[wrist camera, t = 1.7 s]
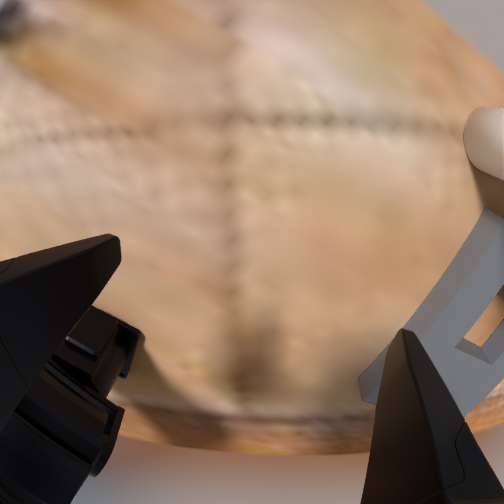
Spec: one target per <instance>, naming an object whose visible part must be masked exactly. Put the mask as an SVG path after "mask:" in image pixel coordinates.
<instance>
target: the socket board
mask: <svg viewBox="0 0 504 504" xmlns="http://www.w3.org/2000/svg"><path fill="white" fill-rule="evenodd" d="M503 284H504V219H503V218H502V217H500V216H499V215H497V214H496V213H494V212H493V211H491V210H489V209H488V208H485V210H484V211H483V213H482V215H481V217H480V218H479V220H478V222H477V223H476V225H475V227H474V228H473V230H472V232H471V233H470V235H469V236H468V238H467V240H466V241H465V243H464V244H463V246H462V247H461V249H460V251H459V252H458V254H457V255H456V257H455V258H454V260H453V261H452V263H451V264H450V266H449V267H448V268H447V270H446V271H445V273H444V274H443V276H442V277H441V278H440V280H439V281H438V283H437V284H436V285H435V287H434V288H433V290H432V291H431V292H430V294H429V295H428V296H427V298H426V299H425V300H424V302H423V303H422V304H421V306H420V307H419V308H418V309H417V311H416V312H415V313H414V315H413V316H412V317H411V318H410V320H409V321H408V322H407V323H406V325H405V326H404V327H403V328H404V329H407V330H411V331H413V332H414V333H415V334H416V336H417V337H418V339H419V341H420V342H421V344H422V345H423V347H424V349H425V350H426V352H427V354H428V355H429V357H430V359H431V360H432V362H433V364H434V365H435V367H436V369H437V370H438V372H439V374H440V376H441V377H442V379H443V381H444V383H445V384H446V386H447V388H448V390H449V391H450V393H451V395H452V397H453V399H454V400H455V402H456V404H457V406H458V408H459V410H460V412H461V413H462V415H463V417H465V416H466V415H467V414H468V413H469V412H470V411H471V410H472V409H473V408H475V407H476V406H477V405H478V404H479V403H480V402H481V401H482V400H483V399H484V398H485V397H486V396H487V395H488V394H489V393H490V392H491V391H492V390H493V389H494V388H495V387H496V386H497V385H498V384H499V383H500V382H501V381H502V380H503V379H504V320H503V321H502V322H501V324H500V325H499V326H498V327H497V329H496V330H495V331H494V332H493V334H492V335H491V336H490V337H489V338H488V340H487V341H486V342H485V343H484V344H483V346H482V347H479V346H477V345H475V344H473V343H472V342H470V341H468V340H466V339H464V338H463V337H464V336H465V334H466V333H467V332H468V331H469V330H470V328H471V327H472V326H473V325H474V323H475V322H476V321H477V320H478V318H479V317H480V316H481V315H482V313H483V312H484V311H485V309H486V308H487V307H488V305H489V304H490V303H491V301H492V300H493V298H494V297H495V296H496V294H497V293H498V292H499V290H500V289H501V287H502V286H503ZM392 341H393V340H392ZM392 341H391V343H392ZM391 343H390V344H391ZM390 344H389V345H388V346H387V347H386V348H385V350H384V351H383V352H382V353H381V354H380V355H379V356H378V357H377V359H376V360H375V361H374V362H373V363H372V364H371V365H370V366H369V367H368V368H367V370H366V371H365V372H364V373H363V374H362V375H361V376H360V377H359V378H358V383H359V387H360V392H361V397H362V401H365V402H368V403H372V404H375V405H376V404H377V398H378V393H379V388H380V383H381V378H382V374H383V368H384V363H385V358H386V353H387V350H388V348H389V346H390Z"/></svg>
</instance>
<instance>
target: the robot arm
mask: <svg viewBox="0 0 504 504" xmlns="http://www.w3.org/2000/svg"><path fill="white" fill-rule="evenodd" d="M120 263H121V247H120V239H119V238H118V237H117V236H115V235H112V234H104V235H100V236H95V237H91V238H87V239H83V240H79V241H75V242H71V243H67V244H63V245H60V246H56V247H52V248H48V249H44V250H41V251H37V252H33V253H30V254H26V255H22V256H19V257H17V258H11V259H8V260H4V261H0V504H70V503H71V501H72V500H73V498H74V496H75V495H76V493H77V492H78V490H79V489H80V487H81V486H82V484H83V483H84V481H85V480H86V478H87V477H88V475H90V476H92V477H96V476H97V475H98V474H99V473H100V472H101V470H102V469H103V468H104V466H105V465H106V463H107V461H108V459H109V457H110V455H111V453H112V451H113V449H114V446H115V442H116V439H117V435H118V432H119V429H120V425H121V422H122V419H123V415H124V412H125V409H123V408H122V407H120V406H117V405H115V404H114V403H112V402H111V401H109V400H108V399H106V398H107V396H108V394H109V392H110V390H111V388H112V386H113V384H114V382H115V381H116V379H117V377H118V376H119V377H121V378H126V377H127V375H128V373H129V370H130V366H131V363H132V360H133V356H134V353H135V350H136V347H137V344H138V341H139V337H140V332H139V331H138V330H137V329H135V328H133V327H131V326H129V325H127V324H125V323H123V322H121V321H119V320H117V319H115V318H113V317H111V316H110V315H108V314H106V313H104V312H102V311H100V310H98V309H96V308H95V307H93V306H91V305H92V304H93V302H94V301H95V300H96V298H97V297H98V296H99V294H100V293H101V291H102V290H103V288H104V287H105V285H106V284H107V282H108V281H109V279H110V278H111V277H112V275H113V274H114V272H115V271H116V269H117V268H118V266H119V265H120ZM133 334H134V335H133ZM464 421H465V419H464V417H463V415H462V413H461V412H460V410H459V408H458V406H457V404H456V402H455V400H454V399H453V397H452V395H451V393H450V391H449V390H448V388H447V386H446V384H445V383H444V381H443V379H442V377H441V376H440V374H439V372H438V370H437V369H436V367H435V365H434V364H433V362H432V360H431V359H430V357H429V355H428V354H427V352H426V350H425V349H424V347H423V345H422V344H421V342H420V341H419V339H418V337H417V336H416V334H415V333H414V332H413V331H411V330H407V329H404V328H402V329H400V330H399V331H398V332H397V334H396V336H395V338H394V339H393V341H392V343H391V344H390V346H389V348H388V350H387V353H386V358H385V363H384V368H383V374H382V378H381V383H380V388H379V393H378V398H377V404H376V413H375V421H374V429H373V436H372V443H371V450H370V456H369V463H368V468H367V474H366V479H365V484H364V489H363V494H362V499H361V504H504V489H503V487H502V485H501V483H500V482H499V480H498V478H497V476H496V475H495V473H494V471H493V469H492V468H491V466H490V465H489V463H488V461H487V459H486V458H485V456H484V454H483V452H482V451H481V449H480V447H479V446H478V444H477V442H476V440H475V438H474V436H473V434H472V432H471V430H470V428H469V427H468V425H467V423H466V422H464Z"/></svg>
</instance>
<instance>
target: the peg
mask: <svg viewBox="0 0 504 504" xmlns="http://www.w3.org/2000/svg"><path fill="white" fill-rule="evenodd" d="M464 146H465V150H466V153H467V156H468V158H469V160H470V161H471V163H472V164H473V165H474V166H475V167H476V168H477V169H479V170H481V171H483V172H485V173H488V174H490V175H492V176H495V177H497V178H499V179H501V180H504V108H496V107H480V108H478V109H476V110H475V111H473V112H472V113H471V115H470V116H469V118H468V119H467V122H466V124H465V128H464Z"/></svg>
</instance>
